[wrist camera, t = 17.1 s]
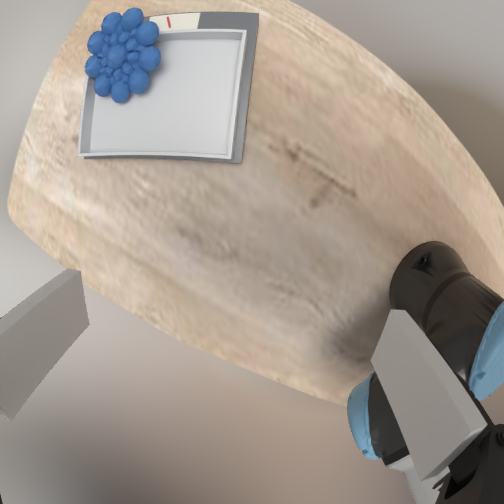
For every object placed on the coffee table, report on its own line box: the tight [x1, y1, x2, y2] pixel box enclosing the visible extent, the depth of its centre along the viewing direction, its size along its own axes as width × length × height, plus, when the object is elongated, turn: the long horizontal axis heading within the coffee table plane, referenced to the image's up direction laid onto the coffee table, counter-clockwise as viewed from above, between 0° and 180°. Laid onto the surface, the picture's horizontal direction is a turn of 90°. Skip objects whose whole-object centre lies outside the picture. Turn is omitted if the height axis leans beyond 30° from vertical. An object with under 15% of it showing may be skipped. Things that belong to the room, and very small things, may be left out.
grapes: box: [85, 8, 161, 104], centre depth 24 cm, size 12×7×12 cm
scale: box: [78, 12, 259, 163], centre depth 28 cm, size 22×21×6 cm
